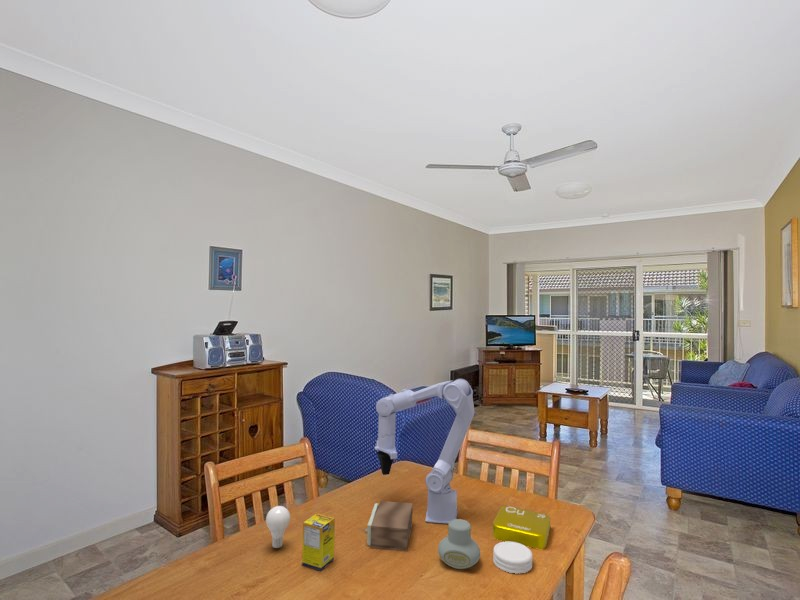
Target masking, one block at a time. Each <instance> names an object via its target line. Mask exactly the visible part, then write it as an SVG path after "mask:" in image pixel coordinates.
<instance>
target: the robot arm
mask: <svg viewBox="0 0 800 600" xmlns="http://www.w3.org/2000/svg"><path fill="white" fill-rule="evenodd" d="M473 395H474V390H473V389H472V387H471V385H470V384H469V381H468V380H466V379H464V378H457V379H455V380H447V381H442V382H439V383H436V384H433V385H430V386H426V387H424V388H422V389H419V390H416V391H413V390H411V389H407V388H404V389H401V390H400V392H397V393H394V394H393V393H390V394H389V395H388V396H385V397H382V398H380V399H378V401H377V402H376V404H375V410H376V413H378V425H377V426H378V427H377V428H378V429H377V430H378V431H377V432H378V433H377V437H378V438H377V440H376V443H375V446H374V450H375V451H376V454H377V455H376V456H377V458H378V460H379V464H380V470H381V474H382V475H383V476H386V475H390V473H391V469H392V465H393V463H394V460H396V459H397V460H398V452H397V448H396V447H397V446H396V423H397V421H396V419H397V418H396V416H397V414H396V413H397V412H401V411H405V410H407V409H410V408H411V409H412V408H414V407H416V404H417V402H420V401H423V400H425V399H426V400H427V399H431V398H433V397H438V398H439V399H441V400H443V399H444V400H446V402H447V403H448V404H449V405H450V406H451V407H452V409H453V410H454V412H455V414H456V416H455V419H454V420H453V424H452V425H451V429H450V430H449V433H448V435H447V438H446V440H445V442H444V445H443V447H442V450H441V452H440V455H439V457H438V460H437V461H436V463H435V464H434V466H433V468H432V470H431V471H430V472H429V473H428V474H427V475H426V477H425V481H424V482H425V486H426V488H427V509H426V513H425V514H426V515H425V522H426V523H433V524H434V523H435V524H447V525H448V524H449V522H450V521H452V520H454V519H457V516H458V515H459V514H458V512H459V511H458V508H457V507H458V504H457V503H458V501H457V500H458V491H457V489H452V487H451V483H450V482H451V481H452V480H453V478H454V468H455V461H456V460H457V457H458V455H459V452H460V451H461V448H462V445H463V442H464V441H465V438H466V436H467V433H468V431H469V428H470V426H471V423H472V421H473V420H474V416H475V414H476V413H475V406H474V398H473Z"/></svg>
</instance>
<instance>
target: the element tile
mask: <svg viewBox="0 0 800 600" xmlns="http://www.w3.org/2000/svg"><path fill="white" fill-rule="evenodd" d="M549 531H550V532H551V517H550V515H549V514H547V513H542V512H537V511H533V510H528V509H523V508H518V507H514V506H508V505H502V506H501V507H500V508H499V510H498V512H497V514H496V516H495V518H494V520H493V522H492V538H493V537H494V538H496V539H495V540H497V539H498V540H497V541H500V540H502V541H501V542H504V541H510V542H516V543H520V544H522V545H524V546H529V547H533V548H532V549H534V548H538V549H543V550H545V549H546V548H547V545H546V544H548V541H547V540H549V537H548V536H550V533H549ZM494 538H493V539H494ZM529 547H528V548H529ZM545 547H546V548H545ZM544 548H545V549H544ZM538 549H537V550H538Z"/></svg>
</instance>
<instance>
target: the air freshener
mask: <svg viewBox="0 0 800 600" xmlns="http://www.w3.org/2000/svg"><path fill="white" fill-rule="evenodd" d="M447 525H448V528H447V529H448V531H447V536H445V537H444V538H442V539H441V541H440V542H439V544H438V547H437V552H438V553H437V554H438V556H439V558H440V559H441V561H442V562H443V563H445V564H446V565H448V566H449V567H452V568H453V569H456V570H463V569H469V568H471V567H474V565H476V564H477V563H478V562H479V560H480V558H481V549H480V547H479V545H478V543H477V542H476V541H475V540H474V539H473V538H472V525H471V523H469V521H467V520H465V519H461V518H456V519H454V520H452V521H450V522H449V524H447Z"/></svg>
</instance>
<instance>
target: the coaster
mask: <svg viewBox="0 0 800 600" xmlns="http://www.w3.org/2000/svg"><path fill="white" fill-rule="evenodd" d="M492 556H493V557H492V558H493V559H492V561H493V564H494V565H495V567H497V568H498V569H499V568H500V569H499V570H501V571H503V572H505V571H506V573H508V572H509V574H512V573H515V574H514V575H521V574H520V573H524V574H526V572H527V573H529V572H530V571H531V570H532V568H533V552H532V550H531V548H529V547H526V546H524V545H522V544H520V543H516V542H510V541H505V542H504V541H499V542H498V543H496V544H495V545H494V546H493V554H492ZM528 571H529V572H528ZM518 573H519V574H518Z"/></svg>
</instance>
